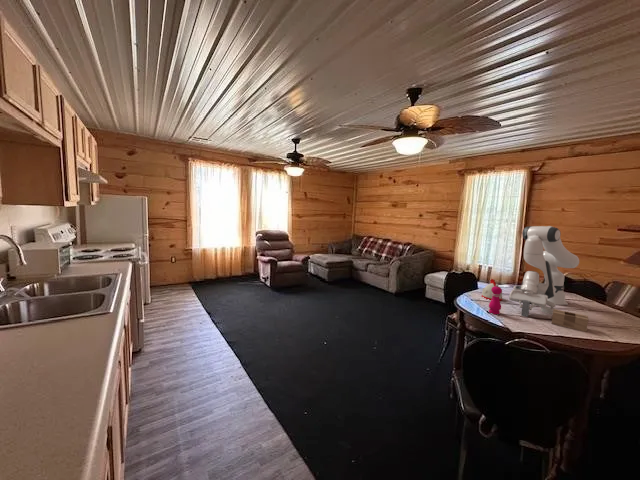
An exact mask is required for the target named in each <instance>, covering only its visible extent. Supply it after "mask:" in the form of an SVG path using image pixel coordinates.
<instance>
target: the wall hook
mask: <svg viewBox="0 0 640 480" xmlns="http://www.w3.org/2000/svg"><path fill="white" fill-rule="evenodd" d="M553 309H556V310H558V309H557V308H556V304H554V303H552V302H550V301H548V300H546V306H545V307H540V311H541V312H542V313H545V314H549V315H553Z"/></svg>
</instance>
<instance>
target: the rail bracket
mask: <svg viewBox="0 0 640 480" xmlns="http://www.w3.org/2000/svg"><path fill="white" fill-rule="evenodd" d="M521 305H522V308H521V314H520V316H522V317H526V318H528V317H529V312H530V310H529V306H530V307H531V305H530V301H528V300H523V303H522V304H521Z"/></svg>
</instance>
